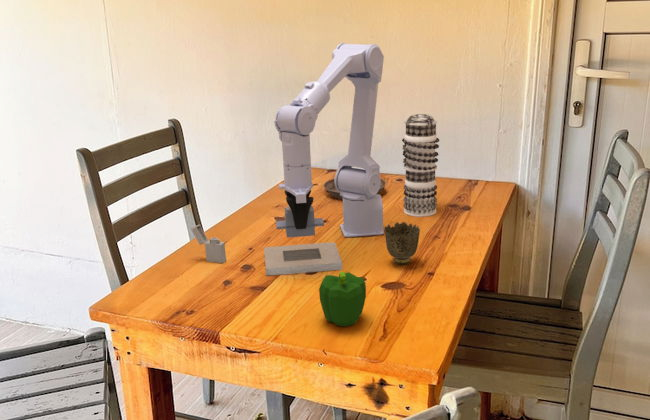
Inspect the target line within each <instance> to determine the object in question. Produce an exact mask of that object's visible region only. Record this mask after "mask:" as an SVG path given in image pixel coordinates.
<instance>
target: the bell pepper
mask: <svg viewBox="0 0 650 420" xmlns="http://www.w3.org/2000/svg"><path fill="white" fill-rule="evenodd" d="M366 284H367V283H366V280H365V279H364V277H362V276H361V277H359V276H357V275H355V274H353V273H351V272H349V271H347V272H345V271H340V272H339V273H338V275H334V274H333V275H330V274H325V276H324V278H323V279H322V281H321V282H320V284H319V288H318V292H319V301H320V305H321V309H322V312H323V315H324V317H325V319H326V320H327V321H328V322H330V323H334V325H337V326H339V327H349V326H354V325H355V324H356V323H357V322H358V321H359V320H360V318H361V316H362V313H363V310H364V306H365V303H366V298H367V287H366Z"/></svg>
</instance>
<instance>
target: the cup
mask: <svg viewBox="0 0 650 420" xmlns="http://www.w3.org/2000/svg"><path fill="white" fill-rule="evenodd" d="M383 232H384V235H385V236H384V237H385V245H386V250H387V252H388V254H389V255H390V256H391V257H393V263H395V264H396V265H398V266H405V265H406V266H407V265H409V264H410V263H411V261H412V259H411V258H412V257H414V255H415V254H416V252H417V251H418V247H419V239H420V232H421V228H420V227H419V225H417V223H416V224H414V225H413V223H409V224H408V223H407V222H405V221H402V222H401V223H399V222H395V223H394V226H391V224H387V226H384V228H383Z"/></svg>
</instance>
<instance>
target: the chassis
mask: <svg viewBox="0 0 650 420" xmlns="http://www.w3.org/2000/svg"><path fill="white" fill-rule="evenodd" d="M263 253H264V254H263V255H264V262H265V265H264V266H265V276H267V277H268V276H278V275H279V276H280V275H291V274H293V275H294V274H303V273H307V274H308V273H317V272H331V271H342V270H343V261H342V257H341V255H340V253H339V250H338V246H337V245H336V242H335V241H332V242H320V243H318V242H317V243H316V242H314V243H307V244H306V243H305V244H293V245H291V244H290V245H289V244H288V245H279V246H267V247H265V246H264V247H263Z"/></svg>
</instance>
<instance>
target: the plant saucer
mask: <svg viewBox="0 0 650 420" xmlns="http://www.w3.org/2000/svg"><path fill="white" fill-rule="evenodd" d="M334 179H335V178H332V179H329V180H327V181H325V182H324V183H323V188H324V189H325V191H326V192H327V193H328V194H329V195H330V196H331V197H333V198H334V199H339V200H343V196H340V192H339V191H338V190H337V189H336V187H335V183H334ZM380 180H381V183H380V188H379V191H378V192H377V194H379V195H380V193H382V192H383V190H384V188H385V186H386V185H387V184H386V183H387V182H386V181H385V180H384V179H382V178H380Z"/></svg>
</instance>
